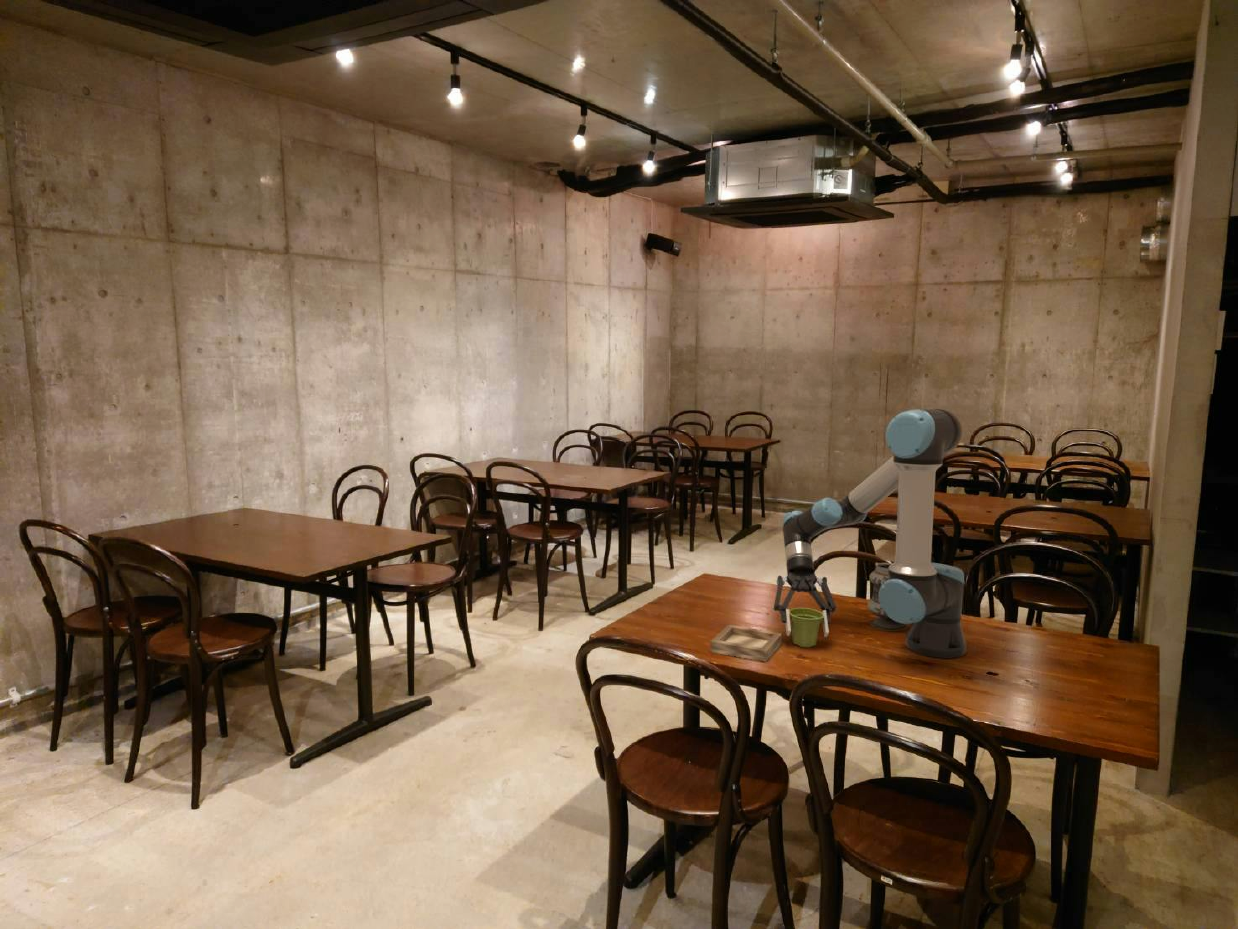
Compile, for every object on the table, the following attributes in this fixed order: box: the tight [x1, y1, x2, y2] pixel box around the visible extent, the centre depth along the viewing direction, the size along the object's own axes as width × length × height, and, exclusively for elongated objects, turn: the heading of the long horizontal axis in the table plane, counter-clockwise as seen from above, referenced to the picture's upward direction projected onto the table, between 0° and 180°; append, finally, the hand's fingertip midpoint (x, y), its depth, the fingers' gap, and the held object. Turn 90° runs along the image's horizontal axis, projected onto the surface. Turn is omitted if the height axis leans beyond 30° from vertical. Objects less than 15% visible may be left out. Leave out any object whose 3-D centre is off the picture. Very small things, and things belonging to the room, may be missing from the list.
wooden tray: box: [709, 624, 783, 663], centre depth 208 cm, size 15×15×3 cm
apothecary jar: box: [866, 562, 907, 632], centre depth 227 cm, size 12×12×18 cm
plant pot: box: [789, 607, 824, 648], centre depth 212 cm, size 9×9×9 cm
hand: (807, 634), depth 209 cm, fingers closed on plant pot, 9 cm apart
